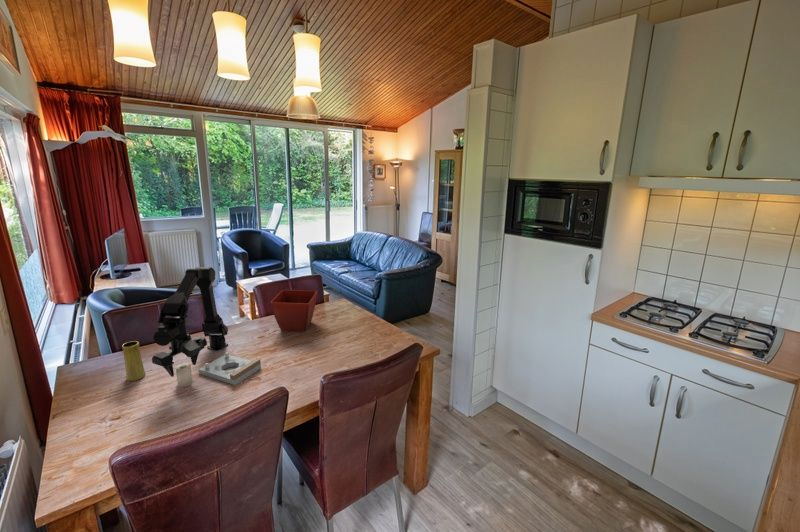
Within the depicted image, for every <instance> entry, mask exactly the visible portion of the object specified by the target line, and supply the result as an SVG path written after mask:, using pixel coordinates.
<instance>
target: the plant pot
mask: <svg viewBox="0 0 800 532" xmlns="http://www.w3.org/2000/svg"><path fill="white" fill-rule="evenodd" d="M317 296H318V291H317V290H301V289H299V290H298V289H282V290H281V291H279V293H278V294H276V296H275V297H274V298H273V299H272V300H271V301H270V306H271V309H272V313H273V316H274V319H275V321H276V323H277V325H278V328H279V329H280V331H283V332H284V331H285V332H287V331H288V332H306V330H307V329H308V328H309V326H310V324H311V322H312V320H313V316H314V312H315V309H316V308H315V307H316V303H317Z"/></svg>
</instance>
